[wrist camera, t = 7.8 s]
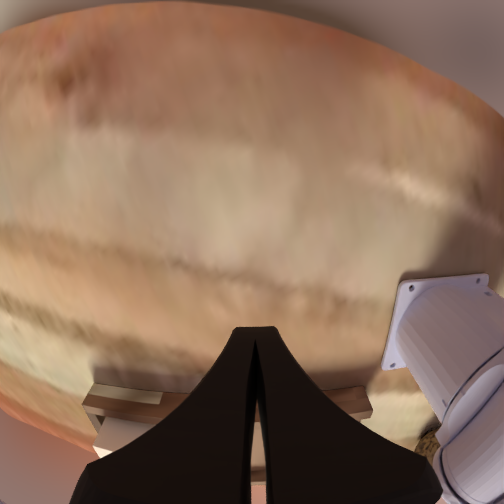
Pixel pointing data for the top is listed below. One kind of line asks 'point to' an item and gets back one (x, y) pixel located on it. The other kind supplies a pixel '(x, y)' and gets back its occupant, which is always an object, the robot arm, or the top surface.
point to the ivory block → (117, 434)
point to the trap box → (162, 403)
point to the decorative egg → (428, 446)
